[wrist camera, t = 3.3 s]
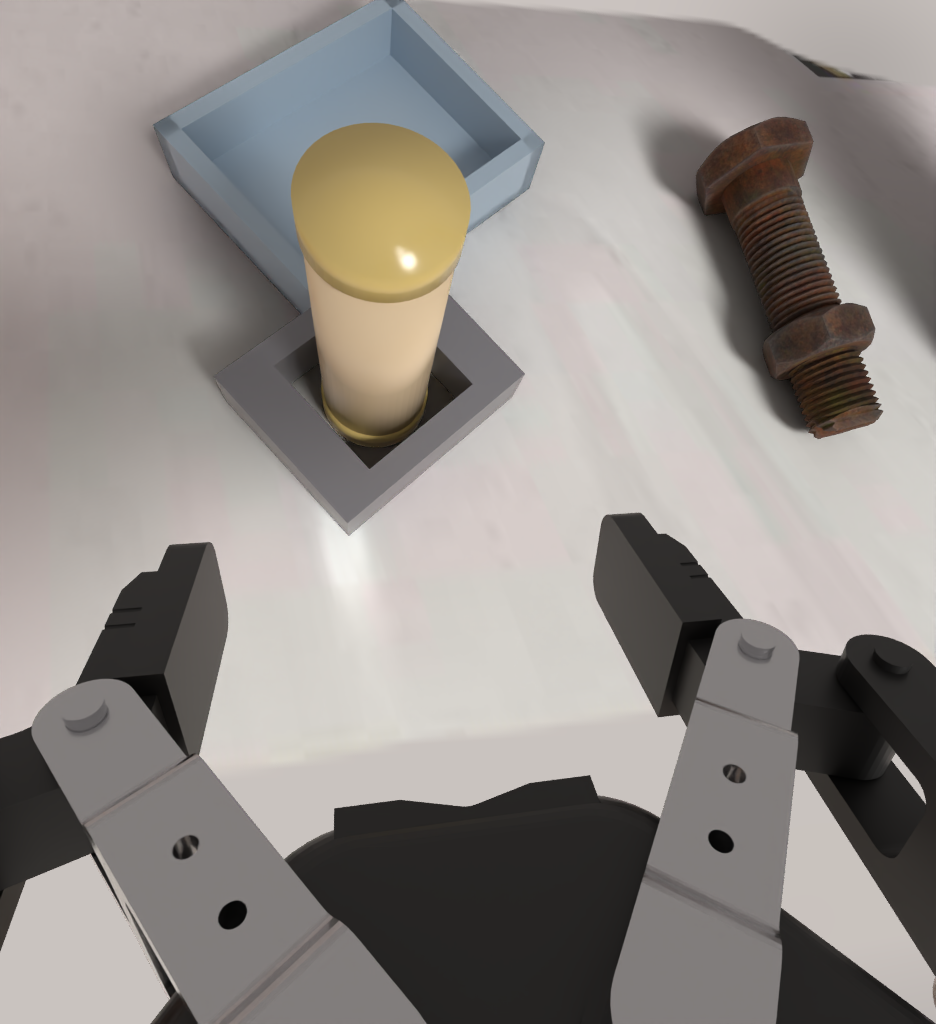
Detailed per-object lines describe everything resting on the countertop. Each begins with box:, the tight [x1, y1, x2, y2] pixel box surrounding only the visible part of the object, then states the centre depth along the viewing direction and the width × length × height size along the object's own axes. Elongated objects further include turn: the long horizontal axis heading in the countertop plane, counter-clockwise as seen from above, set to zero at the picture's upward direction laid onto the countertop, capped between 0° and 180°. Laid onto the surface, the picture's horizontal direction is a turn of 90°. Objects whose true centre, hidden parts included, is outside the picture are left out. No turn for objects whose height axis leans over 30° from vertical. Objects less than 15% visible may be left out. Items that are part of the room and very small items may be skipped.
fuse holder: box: [213, 295, 525, 535], centre depth 28 cm, size 10×8×2 cm
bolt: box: [696, 117, 883, 439], centre depth 32 cm, size 6×5×15 cm
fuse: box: [291, 123, 471, 447], centre depth 23 cm, size 5×5×13 cm
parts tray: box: [153, 0, 545, 314], centre depth 30 cm, size 14×11×3 cm
